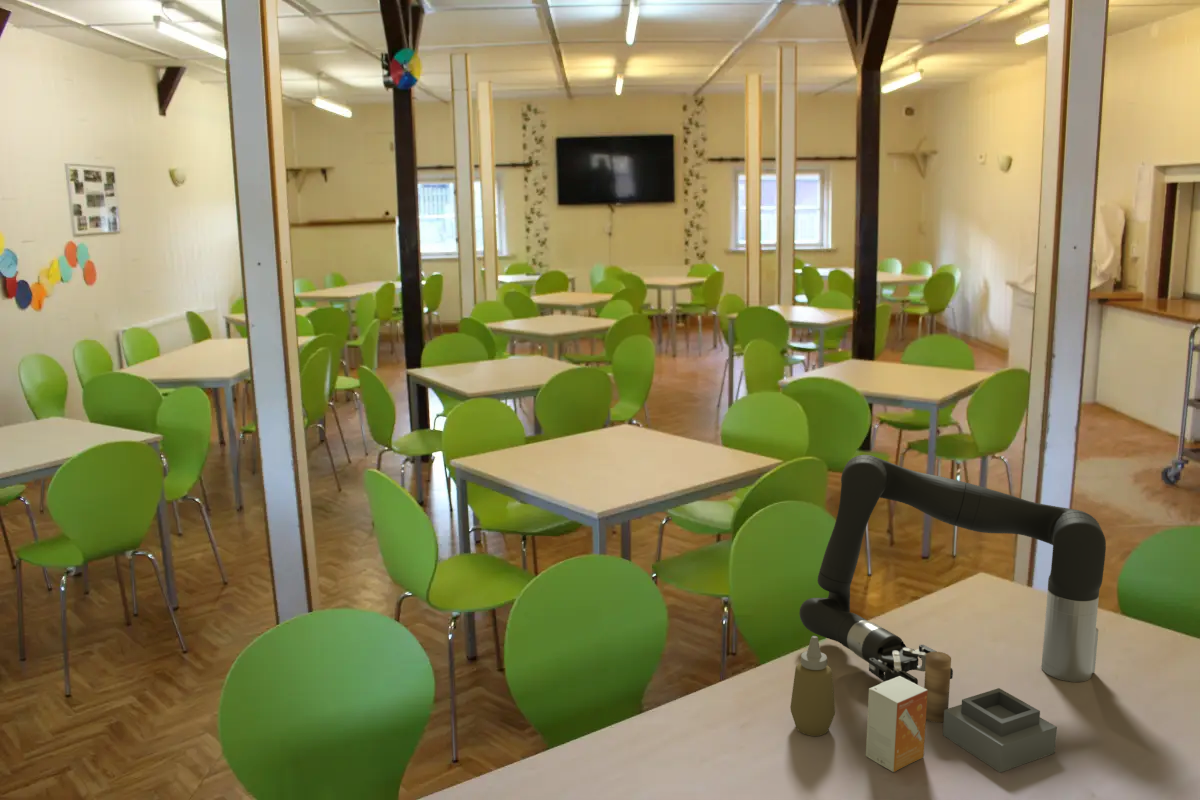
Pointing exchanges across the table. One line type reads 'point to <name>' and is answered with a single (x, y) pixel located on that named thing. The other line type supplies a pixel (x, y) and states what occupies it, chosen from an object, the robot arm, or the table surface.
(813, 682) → the squeeze bottle
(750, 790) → the table surface
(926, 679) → the cardboard roll
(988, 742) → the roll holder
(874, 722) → the small box
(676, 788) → the table surface
